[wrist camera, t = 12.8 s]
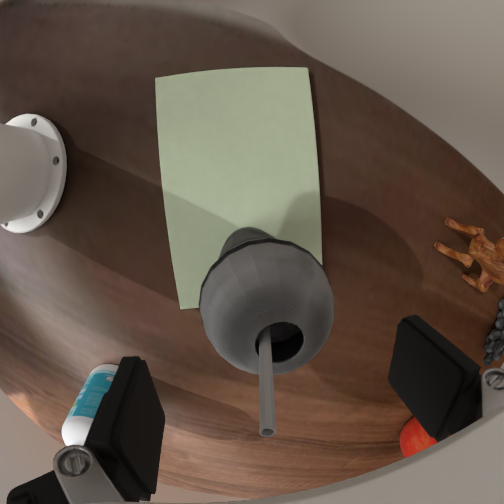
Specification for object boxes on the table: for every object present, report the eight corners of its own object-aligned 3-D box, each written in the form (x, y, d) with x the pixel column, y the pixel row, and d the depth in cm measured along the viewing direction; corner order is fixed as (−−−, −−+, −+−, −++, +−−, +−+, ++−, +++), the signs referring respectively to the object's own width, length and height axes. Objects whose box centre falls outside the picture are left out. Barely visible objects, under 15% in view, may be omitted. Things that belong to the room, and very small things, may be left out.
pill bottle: (88, 354, 29) (40, 435, 16) (147, 368, 30) (118, 461, 17) (95, 399, 30) (61, 476, 17) (148, 411, 31) (129, 497, 18)
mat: (181, 306, 28) (180, 309, 28) (156, 79, 22) (155, 78, 22) (320, 290, 29) (322, 293, 29) (306, 69, 23) (307, 67, 23)
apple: (405, 447, 40) (428, 484, 30) (383, 434, 37) (409, 479, 27) (448, 410, 39) (477, 444, 29) (433, 391, 36) (467, 431, 26)
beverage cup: (296, 275, 28) (407, 436, 8) (222, 298, 28) (230, 494, 8) (276, 201, 26) (414, 273, 7) (197, 225, 26) (133, 362, 6)
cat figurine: (501, 259, 31) (567, 288, 18) (484, 298, 33) (546, 336, 19) (439, 197, 28) (533, 217, 15) (417, 248, 29) (506, 290, 16)
